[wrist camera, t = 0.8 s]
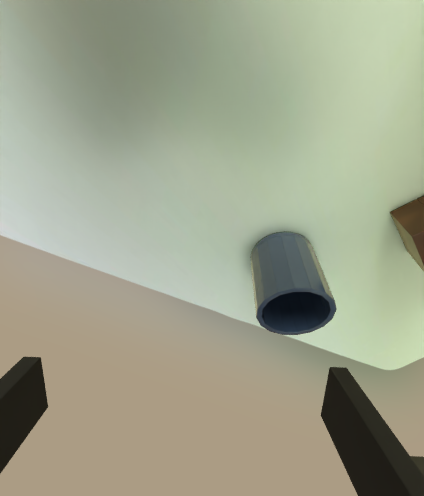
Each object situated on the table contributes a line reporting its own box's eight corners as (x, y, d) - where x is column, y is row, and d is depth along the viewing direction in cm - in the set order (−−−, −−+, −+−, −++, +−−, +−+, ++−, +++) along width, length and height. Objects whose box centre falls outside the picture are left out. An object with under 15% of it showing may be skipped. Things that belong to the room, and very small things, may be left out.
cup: (269, 223, 34) (281, 279, 26) (326, 243, 36) (353, 301, 28) (240, 267, 39) (244, 324, 32) (291, 283, 41) (306, 341, 33)
